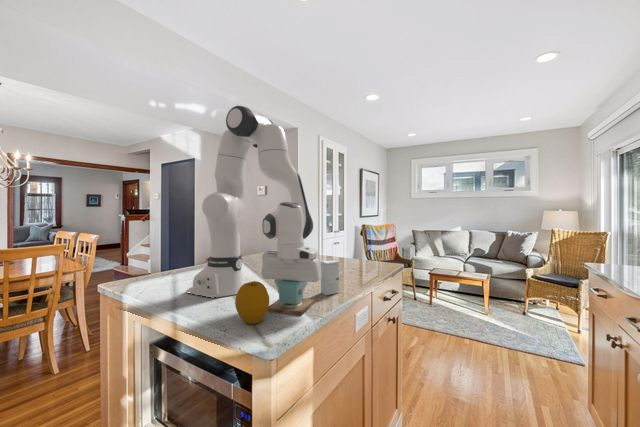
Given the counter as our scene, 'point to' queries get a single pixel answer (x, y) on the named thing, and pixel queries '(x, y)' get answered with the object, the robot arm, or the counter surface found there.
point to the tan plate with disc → (291, 307)
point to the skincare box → (329, 277)
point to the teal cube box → (290, 291)
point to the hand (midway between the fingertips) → (291, 293)
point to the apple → (252, 302)
